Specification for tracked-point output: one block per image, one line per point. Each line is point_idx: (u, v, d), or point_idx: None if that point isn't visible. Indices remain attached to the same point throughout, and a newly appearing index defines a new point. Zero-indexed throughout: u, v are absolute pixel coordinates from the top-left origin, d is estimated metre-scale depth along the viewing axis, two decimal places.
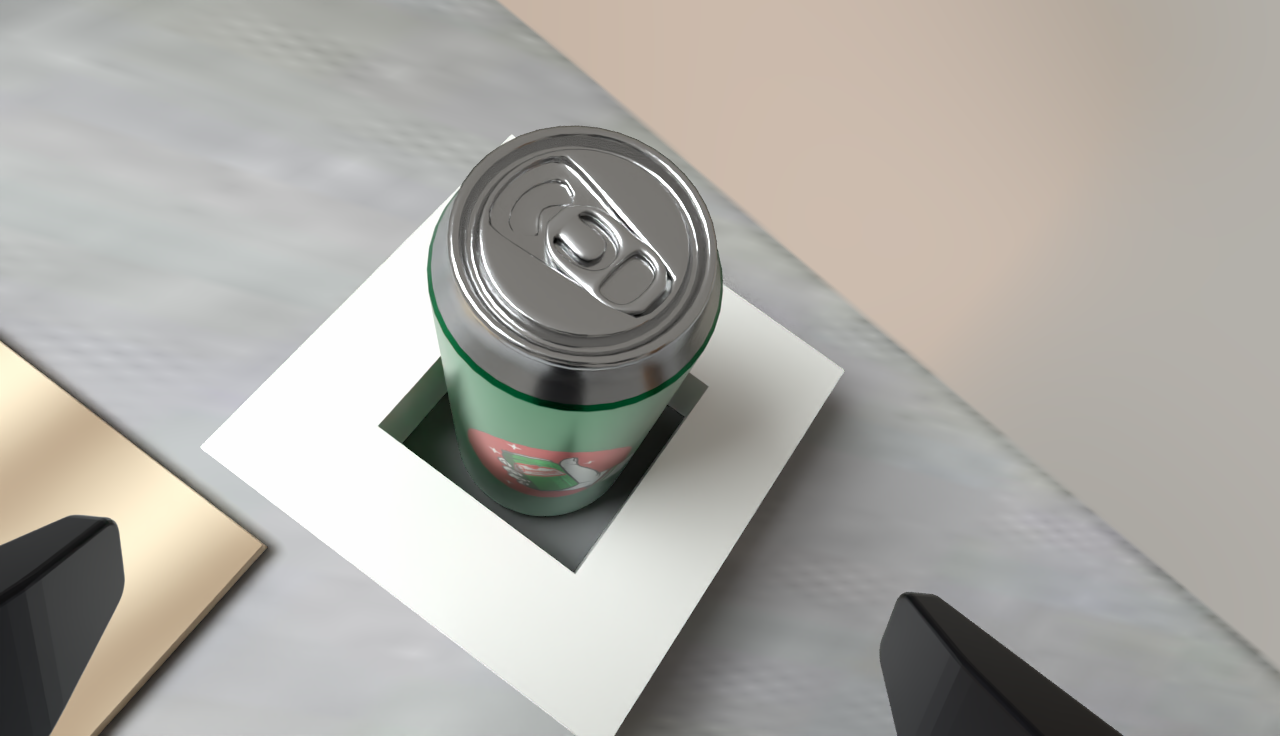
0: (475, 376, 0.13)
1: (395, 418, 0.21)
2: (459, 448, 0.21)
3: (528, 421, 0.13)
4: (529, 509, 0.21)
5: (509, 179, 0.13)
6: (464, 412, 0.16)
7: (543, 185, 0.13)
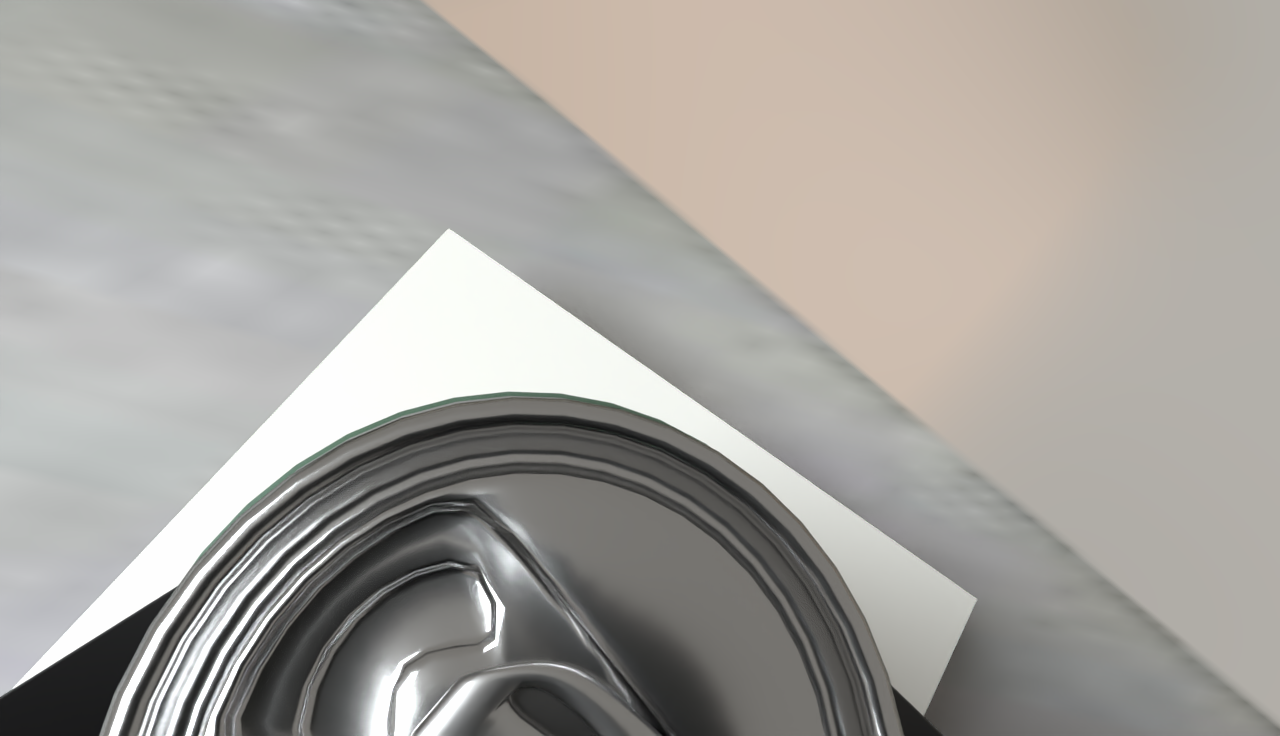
0: None
1: None
2: None
3: None
4: None
5: (303, 593, 0.04)
6: None
7: (412, 578, 0.05)
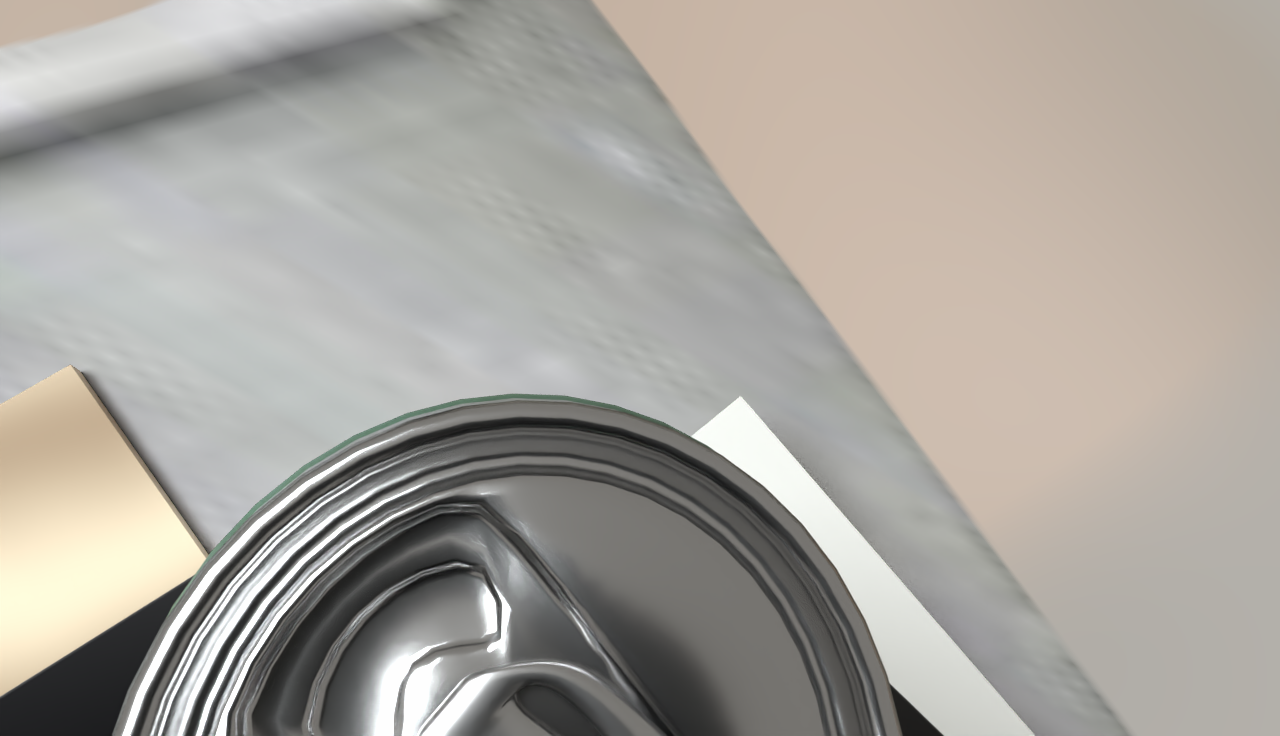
0: None
1: None
2: None
3: None
4: None
5: (313, 593, 0.04)
6: None
7: (419, 578, 0.05)
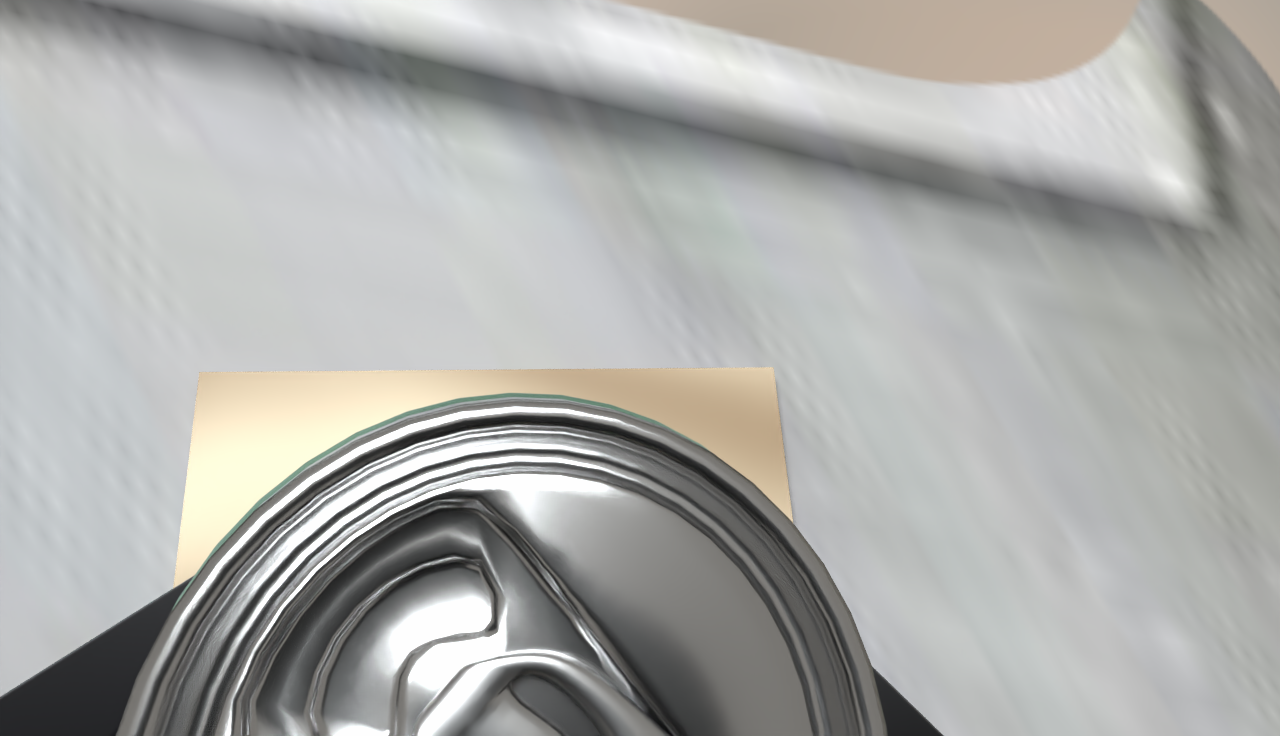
0: None
1: None
2: None
3: None
4: None
5: (314, 584, 0.04)
6: None
7: (418, 571, 0.05)
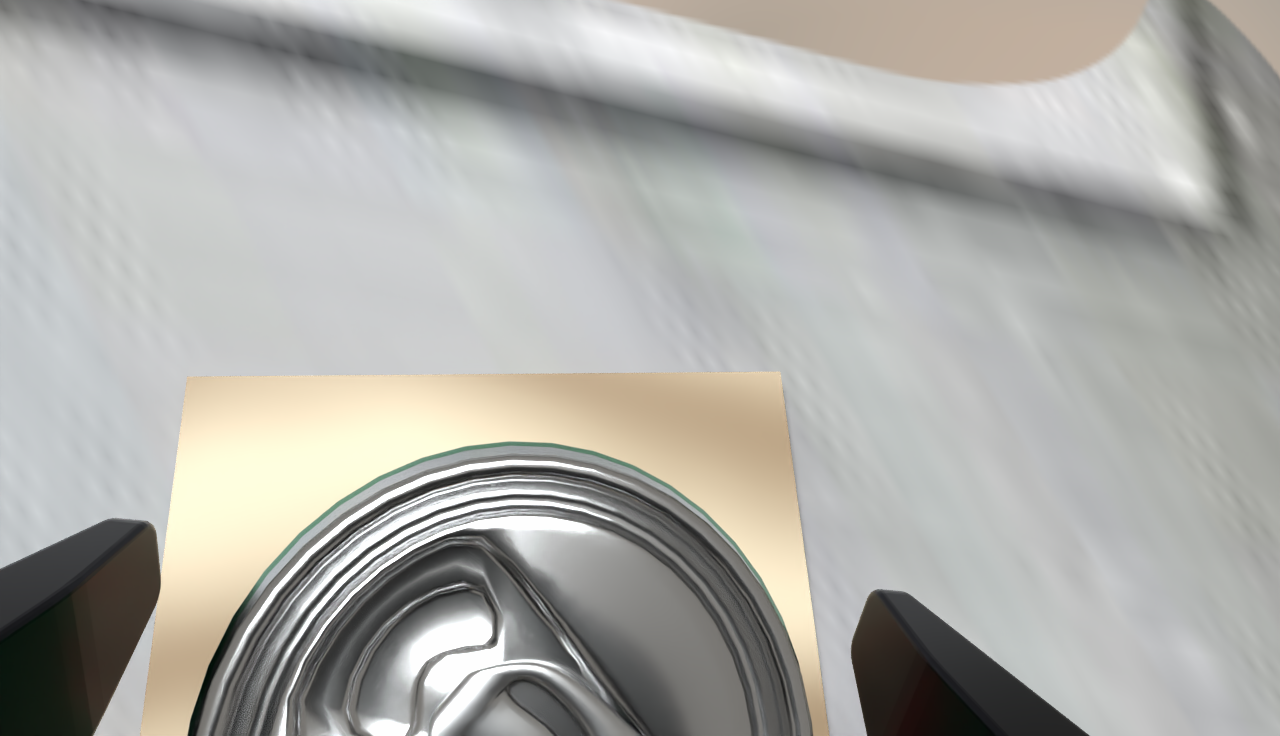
0: None
1: None
2: None
3: None
4: None
5: (351, 607, 0.06)
6: None
7: (433, 596, 0.06)
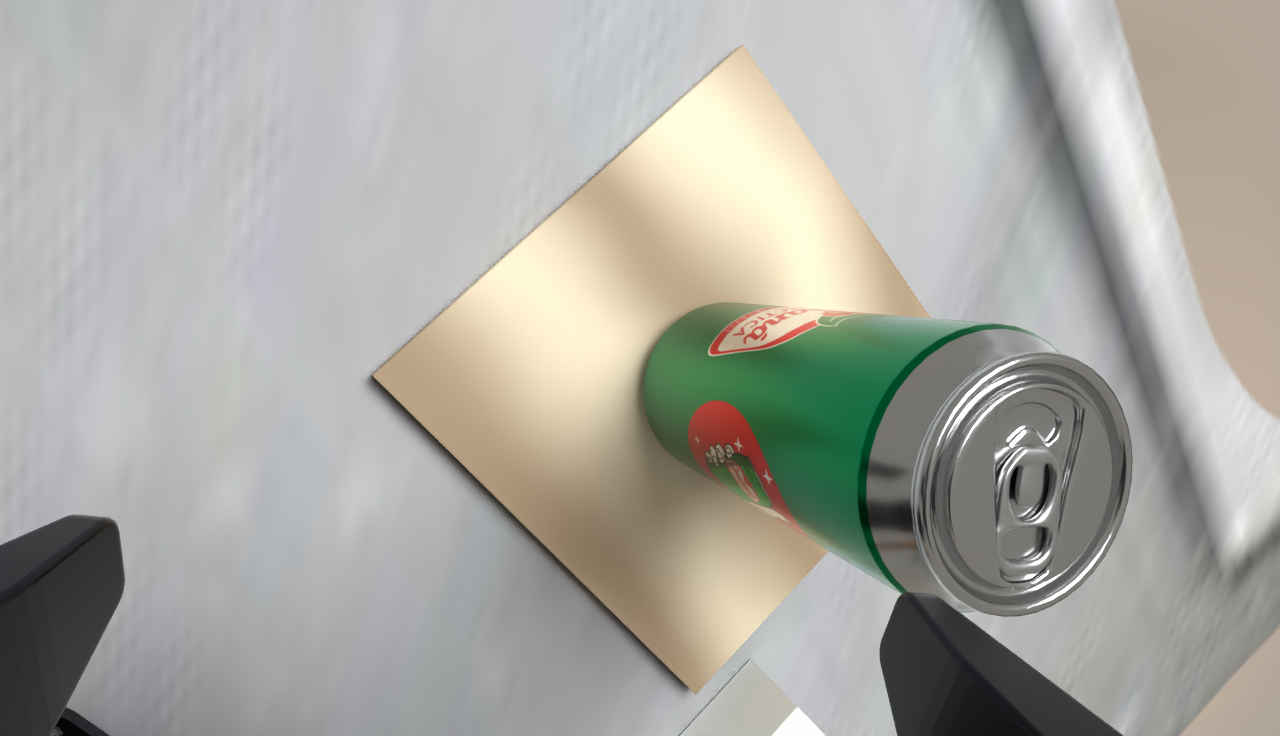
0: (849, 474, 0.13)
1: None
2: (669, 349, 0.21)
3: (827, 517, 0.14)
4: (664, 438, 0.22)
5: (1039, 388, 0.12)
6: (761, 414, 0.16)
7: (1046, 408, 0.13)
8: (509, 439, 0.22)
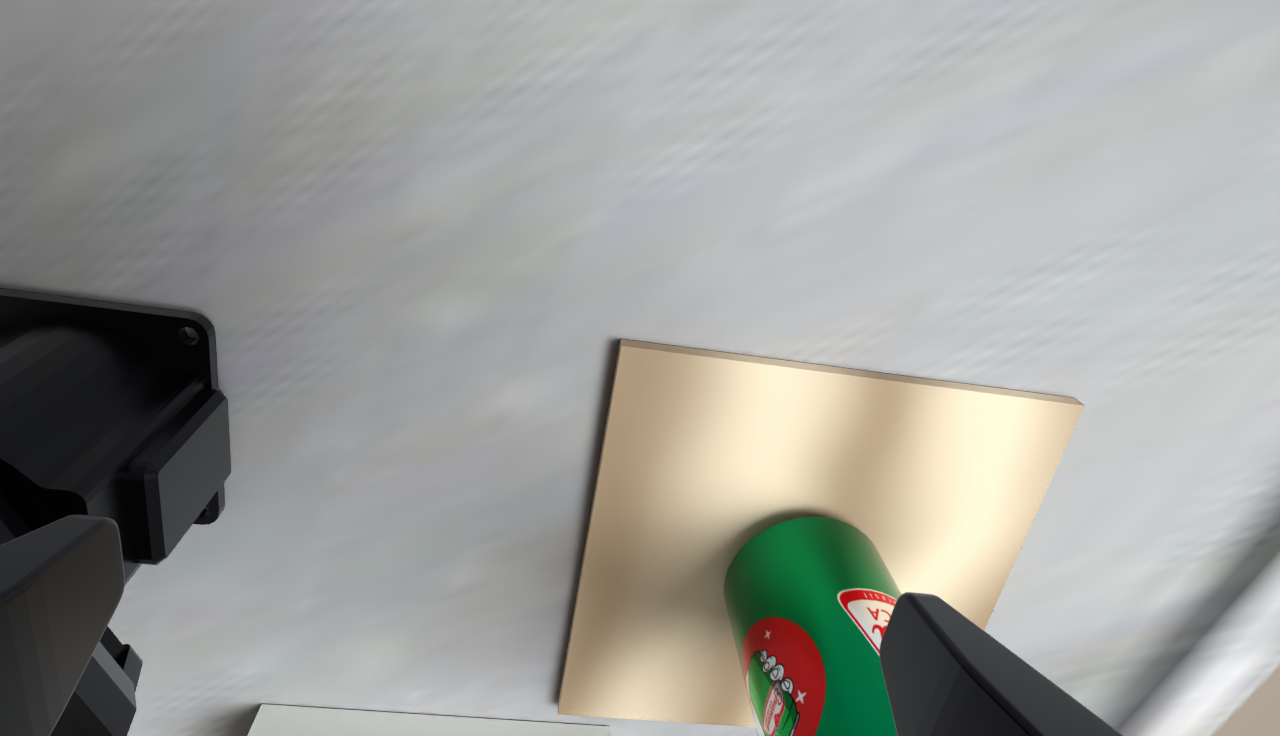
0: None
1: None
2: (807, 539, 0.23)
3: None
4: (736, 580, 0.23)
5: None
6: (841, 713, 0.17)
7: None
8: (647, 467, 0.23)
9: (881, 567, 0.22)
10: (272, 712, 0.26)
